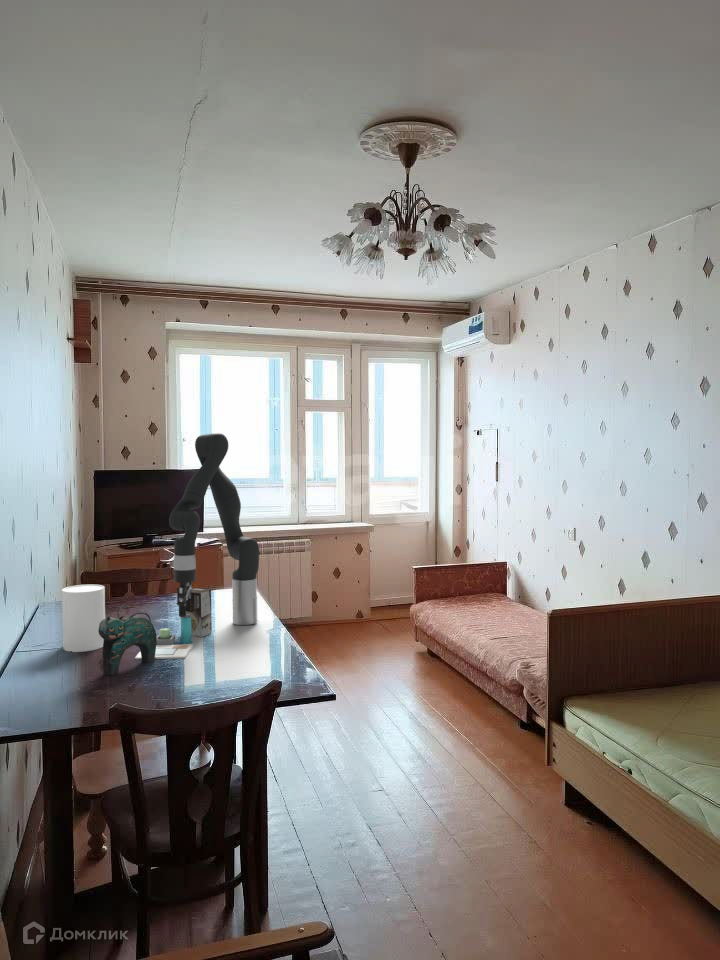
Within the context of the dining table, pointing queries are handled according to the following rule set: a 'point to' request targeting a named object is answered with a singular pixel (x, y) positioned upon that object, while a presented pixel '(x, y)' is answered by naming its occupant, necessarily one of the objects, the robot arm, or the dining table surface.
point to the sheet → (170, 651)
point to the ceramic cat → (126, 639)
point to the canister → (82, 617)
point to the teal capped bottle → (186, 629)
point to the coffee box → (200, 612)
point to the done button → (164, 633)
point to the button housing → (166, 640)
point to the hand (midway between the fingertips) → (184, 613)
